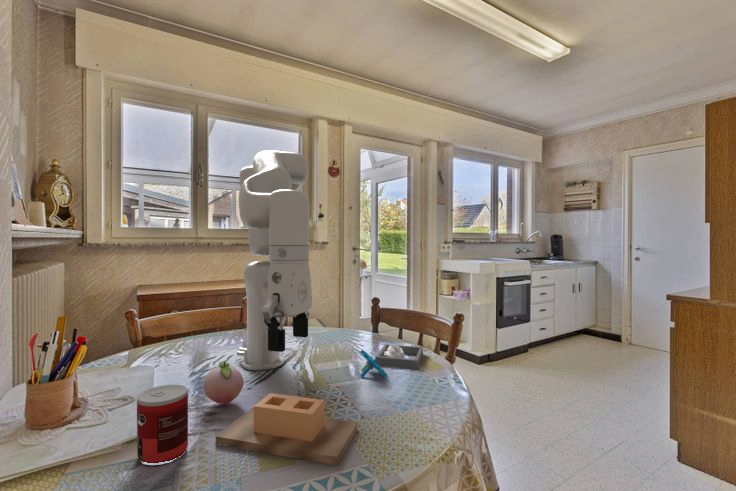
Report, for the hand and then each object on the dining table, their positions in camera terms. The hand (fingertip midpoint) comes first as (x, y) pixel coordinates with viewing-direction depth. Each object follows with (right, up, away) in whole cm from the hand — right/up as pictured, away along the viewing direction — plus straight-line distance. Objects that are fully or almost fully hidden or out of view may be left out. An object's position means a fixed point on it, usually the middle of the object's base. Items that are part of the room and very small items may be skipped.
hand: (289, 343), depth 69 cm
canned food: (-21, -18, -6) cm, 29 cm away
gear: (+17, -18, +32) cm, 40 cm away
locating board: (0, -18, 0) cm, 18 cm away
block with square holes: (0, -17, 0) cm, 17 cm away
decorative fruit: (-18, -18, +13) cm, 29 cm away
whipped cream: (+24, -18, +46) cm, 55 cm away
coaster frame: (+26, -18, +45) cm, 55 cm away
